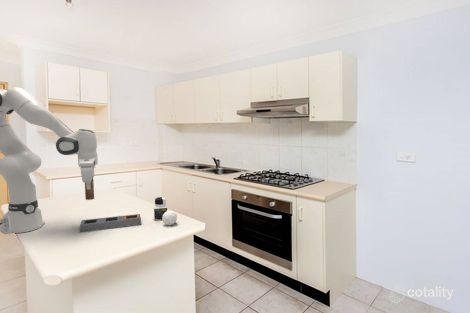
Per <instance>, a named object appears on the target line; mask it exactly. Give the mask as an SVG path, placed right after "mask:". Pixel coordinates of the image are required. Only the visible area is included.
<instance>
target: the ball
mask: <svg viewBox="0 0 470 313" xmlns="http://www.w3.org/2000/svg"><path fill="white" fill-rule="evenodd" d="M177 219H178V215H177V213H176V212H175V211H173V210H167V212H165V213H164V214H163V217H162V220H161V221H162V222H163V223H164V224H165V225H166V226H172V225H174V224H176V222H177Z"/></svg>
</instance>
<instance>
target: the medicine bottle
mask: <svg viewBox="0 0 470 313" xmlns="http://www.w3.org/2000/svg"><path fill="white" fill-rule="evenodd" d="M166 200H167V199H166V197H162V196H159V197H156V198H154V205H153V217H154V218H153V219H154V221H163V220H162V217H163V214H164V213H165V212H167V211H168V204H167V201H166Z"/></svg>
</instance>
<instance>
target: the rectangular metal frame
mask: <svg viewBox="0 0 470 313" xmlns="http://www.w3.org/2000/svg"><path fill="white" fill-rule="evenodd" d="M136 226H142V217H141V214H140V213H137V214H128V215H127V214H126V215H125V214H124V215H116V216H107V217H99V218H90V219H82V220H81V221H80V224H79V233H85V232H91V231H93V232H95V231H102V230H108V229H110V230H111V229H118V228H125V227H126V228H127V227H136Z"/></svg>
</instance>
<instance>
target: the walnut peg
mask: <svg viewBox="0 0 470 313" xmlns="http://www.w3.org/2000/svg"><path fill="white" fill-rule="evenodd" d="M94 185H95V183H94V177H93V178H92V180H91V189H88V190H87V187H86V182H84V192H85V194H84V195H85V201H91V200H94V199H95V186H94Z"/></svg>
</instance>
